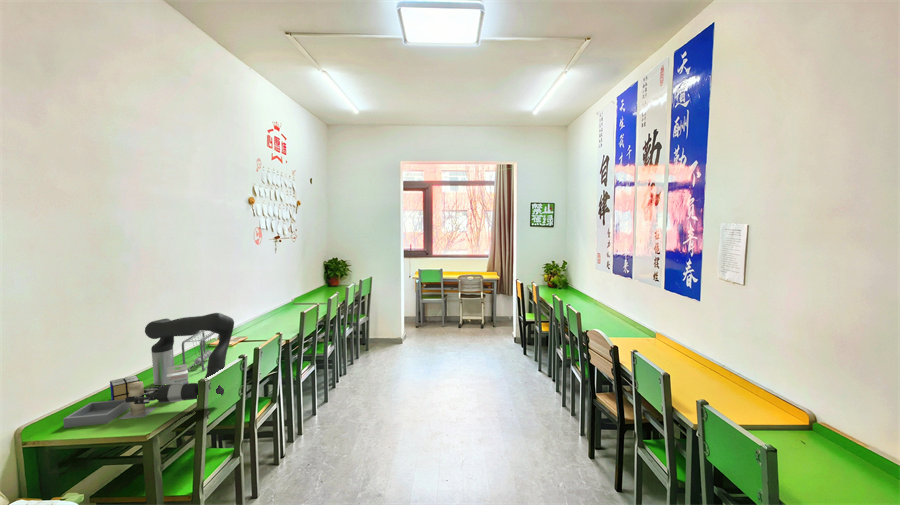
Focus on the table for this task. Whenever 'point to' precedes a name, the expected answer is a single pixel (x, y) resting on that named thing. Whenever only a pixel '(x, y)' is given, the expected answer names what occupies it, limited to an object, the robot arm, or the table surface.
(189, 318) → the robot arm
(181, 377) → the ink box
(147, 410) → the rubber mat
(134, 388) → the wooden canister
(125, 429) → the table surface
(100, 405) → the tray
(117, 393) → the puzzle cube
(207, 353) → the newton's cradle
